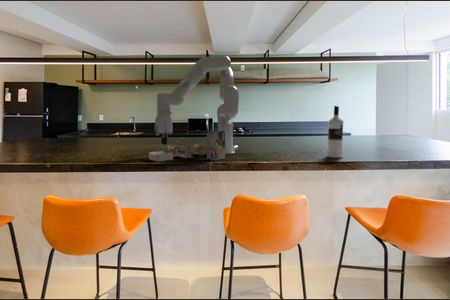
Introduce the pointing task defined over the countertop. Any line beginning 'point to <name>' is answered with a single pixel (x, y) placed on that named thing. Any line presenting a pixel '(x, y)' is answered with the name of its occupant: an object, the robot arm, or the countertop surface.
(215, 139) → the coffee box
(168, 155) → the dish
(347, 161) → the countertop surface
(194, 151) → the launcher
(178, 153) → the stand
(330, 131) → the vodka
